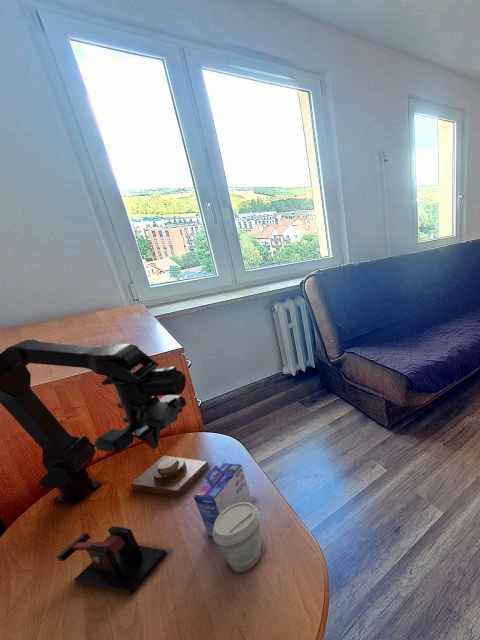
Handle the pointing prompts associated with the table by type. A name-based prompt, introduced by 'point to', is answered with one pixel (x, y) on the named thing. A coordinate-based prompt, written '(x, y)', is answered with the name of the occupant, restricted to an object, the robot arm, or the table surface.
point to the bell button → (167, 465)
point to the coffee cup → (239, 535)
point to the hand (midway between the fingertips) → (155, 447)
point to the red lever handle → (81, 544)
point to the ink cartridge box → (221, 492)
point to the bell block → (170, 477)
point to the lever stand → (120, 564)
